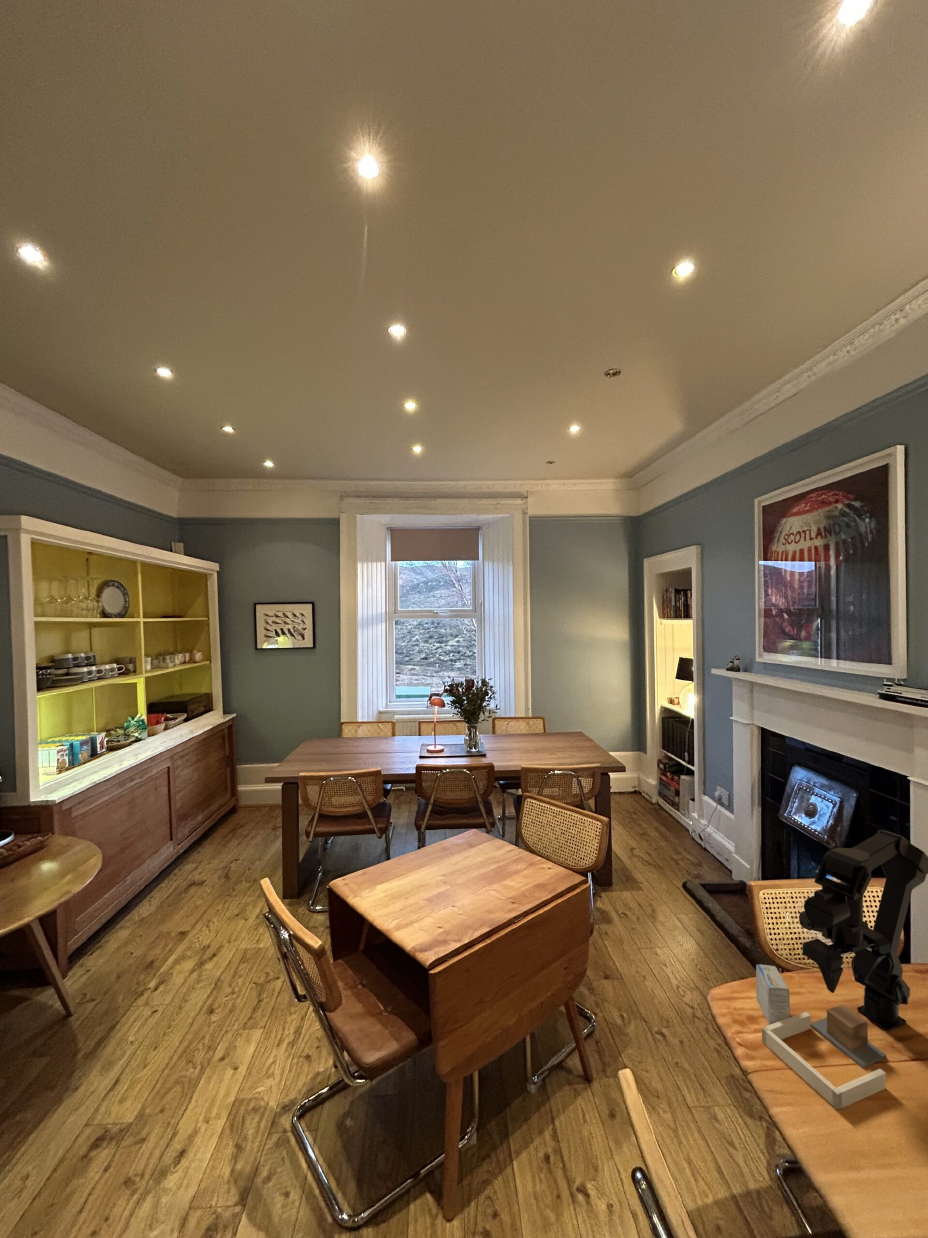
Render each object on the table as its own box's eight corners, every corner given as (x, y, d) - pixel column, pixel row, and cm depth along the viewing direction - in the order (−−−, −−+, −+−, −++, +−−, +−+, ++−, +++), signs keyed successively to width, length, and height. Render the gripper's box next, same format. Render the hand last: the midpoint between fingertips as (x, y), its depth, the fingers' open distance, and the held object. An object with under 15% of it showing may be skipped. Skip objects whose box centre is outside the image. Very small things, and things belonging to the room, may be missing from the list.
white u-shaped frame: (806, 1025, 113) (806, 1012, 113) (885, 1088, 98) (885, 1073, 98) (761, 1041, 109) (761, 1028, 109) (837, 1110, 94) (837, 1094, 94)
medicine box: (790, 1029, 113) (790, 990, 112) (768, 1026, 113) (768, 987, 113) (776, 1002, 120) (776, 965, 120) (755, 999, 121) (755, 963, 121)
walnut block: (843, 1026, 112) (843, 1004, 112) (867, 1044, 107) (867, 1021, 107) (826, 1033, 111) (826, 1010, 110) (851, 1051, 106) (850, 1027, 106)
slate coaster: (832, 1018, 115) (832, 1015, 115) (886, 1058, 105) (886, 1055, 105) (810, 1026, 113) (810, 1023, 113) (862, 1068, 103) (862, 1065, 103)
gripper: (838, 886, 119) (838, 953, 120) (779, 901, 113) (779, 971, 114) (891, 913, 109) (891, 985, 109) (829, 931, 103) (829, 1008, 103)
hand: (846, 986), depth 109 cm, fingers open, 9 cm apart
